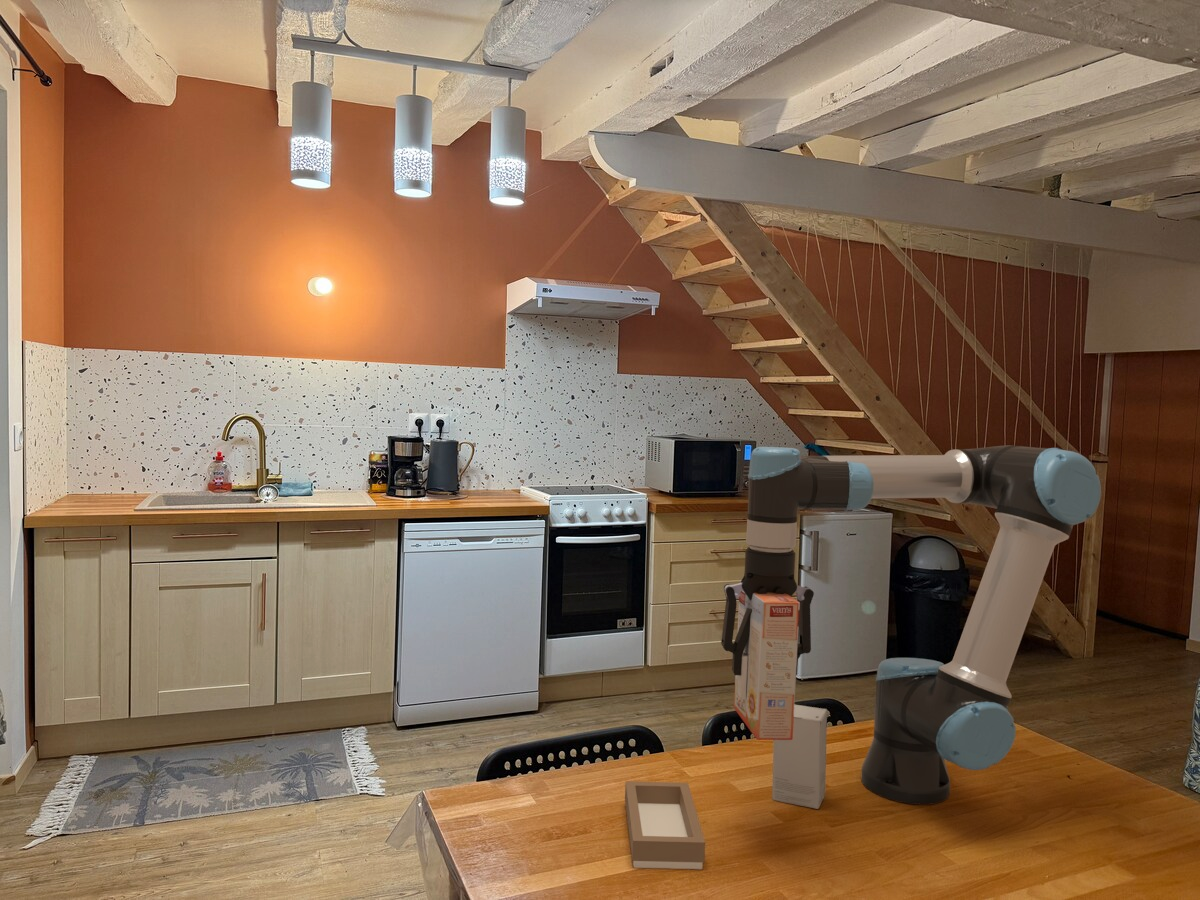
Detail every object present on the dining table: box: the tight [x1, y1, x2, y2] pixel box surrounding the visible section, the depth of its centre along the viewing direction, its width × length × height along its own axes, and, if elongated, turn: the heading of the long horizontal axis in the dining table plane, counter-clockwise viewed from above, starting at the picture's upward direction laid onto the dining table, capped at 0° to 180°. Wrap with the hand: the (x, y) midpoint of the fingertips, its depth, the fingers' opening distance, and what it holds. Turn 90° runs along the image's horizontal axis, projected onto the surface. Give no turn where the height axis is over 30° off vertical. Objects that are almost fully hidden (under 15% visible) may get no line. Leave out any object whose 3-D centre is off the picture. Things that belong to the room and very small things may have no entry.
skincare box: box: [771, 703, 828, 810], centre depth 152 cm, size 8×7×16 cm
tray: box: [624, 780, 706, 870], centre depth 138 cm, size 10×20×4 cm, turn 2°
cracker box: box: [733, 590, 800, 741], centre depth 136 cm, size 14×6×21 cm, turn 5°
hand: (763, 695), depth 136 cm, fingers closed on cracker box, 6 cm apart
